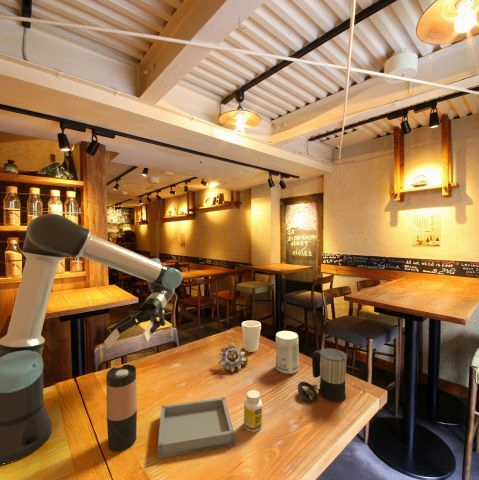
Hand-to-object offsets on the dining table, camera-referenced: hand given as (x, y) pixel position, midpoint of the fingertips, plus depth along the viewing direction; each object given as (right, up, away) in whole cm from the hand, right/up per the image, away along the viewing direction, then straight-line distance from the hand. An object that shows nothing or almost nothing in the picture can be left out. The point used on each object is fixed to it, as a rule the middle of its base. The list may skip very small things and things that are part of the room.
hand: (125, 341), depth 85 cm
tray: (+23, -24, -6) cm, 34 cm away
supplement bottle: (+40, -24, -4) cm, 47 cm away
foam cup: (+42, -22, +48) cm, 67 cm away
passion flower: (+33, -23, +31) cm, 51 cm away
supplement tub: (+56, -23, +29) cm, 67 cm away
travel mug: (+3, -24, -10) cm, 26 cm away
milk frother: (+65, -24, +11) cm, 70 cm away
